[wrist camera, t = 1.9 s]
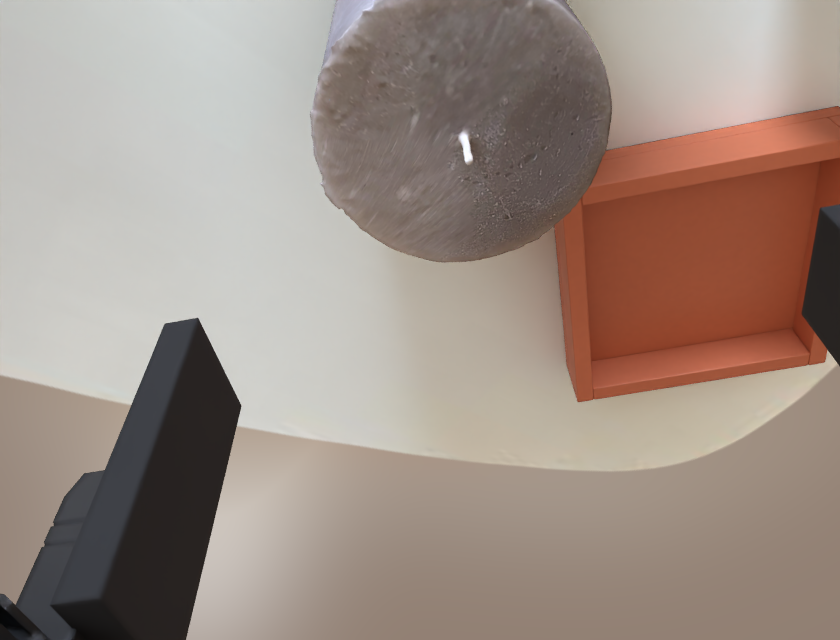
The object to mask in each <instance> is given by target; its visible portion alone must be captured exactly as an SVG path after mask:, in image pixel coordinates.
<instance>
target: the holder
mask: <svg viewBox="0 0 840 640" xmlns="http://www.w3.org/2000/svg"><path fill="white" fill-rule="evenodd" d="M839 204H840V107H838V106H836V107H831V108H826V109H821V110H816V111H810V112H805V113H800V114H795V115H789V116H784V117H779V118H774V119H769V120H763V121H758V122H753V123H748V124H743V125H737V126H732V127H727V128H722V129H717V130H711V131H706V132H701V133H696V134H691V135H685V136H680V137H675V138H670V139H665V140H659V141H654V142H649V143H644V144H638V145H633V146H628V147H623V148H618V149H612V150H607V151H605V154H604V156H603V157H602V161H601V163H600V165H599V167H598V170H597V173H596V175H595V177H594V178H593V181H592V184H591V185H590V186H589V188H588V189H587V191H586V192H585V193H584V195H583V196H582V198H581V199H580V200H579V202H578V203H577V205H576V206H575V207H574V208H572V210H571V212H570V213H569V214H567V215H566V216H565V217H564V218H563V219H561V220H560V221H559V222H558V223H556V224H555V225H554V227H555V238H556V249H557V260H558V272H559V283H560V294H561V305H562V317H563V328H564V339H565V350H566V362H567V368H568V371H569V374H570V378H571V381H572V384H573V388H574V391H575V395H576V398H577V401H578V402H582V401H589V400H593V398H594V399H600V398H607V397H613V396H619V395H625V394H632V393H638V392H644V391H650V390H656V389H663V388H669V387H675V386H681V385H688V384H694V383H700V382H706V381H712V380H719V379H725V378H731V377H737V376H744V375H750V374H756V373H762V372H768V371H775V370H781V369H787V368H793V367H800V366H806V365H812V364H818V363H824V362H825V359H826V354H827V348H826V347H825V346H824V344H823V343H822V341H821V340H820V339H819V337H818V336H817V335H816V333H815V332H814V331H813V329H812V328H811V327H810V325H809V324H808V323H807V321H806V320H805V318H804V317H803V316H802V308H803V302H804V296H805V291H806V285H807V279H808V273H809V267H810V262H811V256H812V250H813V244H814V239H815V233H816V227H817V221H818V215H819V210H820V208H822V207H827V206H833V205H839Z"/></svg>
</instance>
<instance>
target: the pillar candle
mask: <svg viewBox="0 0 840 640" xmlns="http://www.w3.org/2000/svg"><path fill="white" fill-rule="evenodd" d="M611 114H612V101H611V94H610V87H609V83H608V79H607V74H606V70H605V67H604V65H603V62H602V60H601V57H600V55H599V53H598V50H597V49H596V46H595V45H594V43H593V41H592V39H591V37H590V36H589V35H588V33H587V32H586V30H585V29H584V27H583V26H582V24H581V23H580V21H579V20H578V19H577V17H576V16H575V14H574V13H573V11H572V10H571V9H570V7H569V6H568V4H567V3H566V2H565V0H337V1H336V5H335V9H334V13H333V18H332V22H331V28H330V33H329V37H328V42H327V47H326V51H325V56H324V61H323V65H322V69H321V72H320V74H319V76H318V85H317V88H316V92H315V98H314V103H313V109H312V111H311V112H310V117H311V125H312V138H313V146H314V148H313V149H314V156H315V159H316V162H317V164H318V167H319V170H320V172H321V174H322V177H323V180H322V183H320V184H321V185H322V186H323V187H324V190H325V195H326V196H327V197H328V198H329V199H330V201H331V202H332V203H333V204H334V205H335V206H336V207H337V208H338V209H340V208H342V209H343V210H344V212H345V214H346V215H348V216H349V217H350V218H351V219H352V220H353V221H354V222H355V223H356V224H357V225H358V226H359V228H361V229H362V230H363V231H365V232H367V233H368V234H369V235H371V236H372V237H374V238H375V239H377V240H378V241H380V242H382V243H383V244H385V245H386V246H388V247H390V248H392V249H394V250H397V251H400V252H403V253H406V254H408V255H412V256H415V257H419V258H423V259H426V260H430V261H436V262H466V261H475V260H481V259H484V258H489V257H493V256H497V255H500V254H503V253H505V252H508V251H512V250H515V249H518V248H520V247H522V246H524V245H525V244H527V243H529V242H532V241H534V240H537V239H539V238H540V237H541V235H542V234H544V233H545V232H547V231H548V230H550V229H551V228H552V227H553V226H554V225H555V224H556V223H558V222H559V221H560V220H561V219H563V218H564V217H565V216H566V215H567V214H569V213H570V212H571V210H572V208H574V207H575V206H576V205H577V203H578V202H579V200H580V199H581V198H582V196H583V195H584V193H585V192H586V191H587V189H588V188H589V186H590V185H591V184H592V181H593V178H594V177H595V175H596V173H597V170H598V167H599V165H600V163H601V161H602V157H603V156H604V154H605V151H606V147H607V143H608V136H609V128H610V122H611Z"/></svg>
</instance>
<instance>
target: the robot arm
mask: <svg viewBox="0 0 840 640" xmlns="http://www.w3.org/2000/svg"><path fill="white" fill-rule="evenodd" d="M802 316H803V317H804V318H805V320H806V321H807V323H808V324H809V325H810V327H811V328H812V329H813V331H814V332H815V333H816V335H817V336H818V337H819V339H820V340H821V341H822V343H823V344H824V346H825V347H826V348H827V350H828V351H829V352H830V354H831V355H832V356H833V358H834V359H835V360H836V362H837V363H838V364H839V366H840V204H839V205H833V206H827V207H822V208H820V210H819V215H818V221H817V227H816V233H815V239H814V244H813V250H812V256H811V262H810V267H809V273H808V279H807V285H806V291H805V296H804V302H803V308H802ZM240 410H241V404H240V402H239V400H238V398H237V396H236V394H235V392H234V390H233V388H232V386H231V384H230V382H229V380H228V378H227V376H226V374H225V372H224V370H223V368H222V366H221V363H220V361H219V359H218V357H217V355H216V353H215V351H214V349H213V347H212V345H211V343H210V341H209V339H208V337H207V335H206V333H205V331H204V329H203V327H202V325H201V323H200V321H199V319H198V318H195V319H189V320H183V321H178V322H172V323H166V324H165V325H164V327H163V329H162V332H161V334H160V337H159V339H158V342H157V344H156V347H155V349H154V351H153V354H152V356H151V359H150V361H149V364H148V366H147V369H146V371H145V373H144V376H143V378H142V381H141V383H140V386H139V388H138V391H137V393H136V395H135V398H134V400H133V403H132V405H131V408H130V410H129V413H128V415H127V417H126V420H125V422H124V425H123V428H122V430H121V432H120V434H119V437H118V439H117V442H116V444H115V447H114V449H113V452H112V454H111V456H110V459H109V461H108V464H107V466H106V469H105V470H103V471H97V472H90V473H84V474H83V476H82V477H81V478H80V479H79V480H78V481H77V483H76V484H75V485H74V486H73V487H72V489H71V490H70V491H69V492H68V493H67V494H66V496H65V497H64V499H63V501H62V504H61V506H60V508H59V510H58V512H57V514H56V516H55V519H54V521H53V523H54V526H52V527H51V528H50V530H49V532H48V534H47V537H46V539H45V541H44V543H45V546H44V547H42V548H41V550H40V552H39V554H38V557H37V559H36V561H35V563H34V565H33V568H32V570H31V572H30V575H29V577H28V579H27V581H26V583H25V585H24V588H23V590H22V592H21V594H20V597H19V599H18V601H17V603H16V605H15V604H14V603H13V602H12V601H11V600H9V598H8V597H6V596H5V595H4V594H0V640H186V637H187V633H188V628H189V624H190V620H191V616H192V612H193V607H194V603H195V599H196V595H197V590H198V586H199V582H200V578H201V574H202V569H203V565H204V561H205V557H206V553H207V548H208V544H209V540H210V536H211V532H212V527H213V523H214V518H215V515H216V510H217V506H218V502H219V498H220V493H221V489H222V485H223V481H224V477H225V473H226V469H227V464H228V460H229V456H230V452H231V447H232V443H233V439H234V435H235V431H236V426H237V422H238V418H239V414H240Z"/></svg>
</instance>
